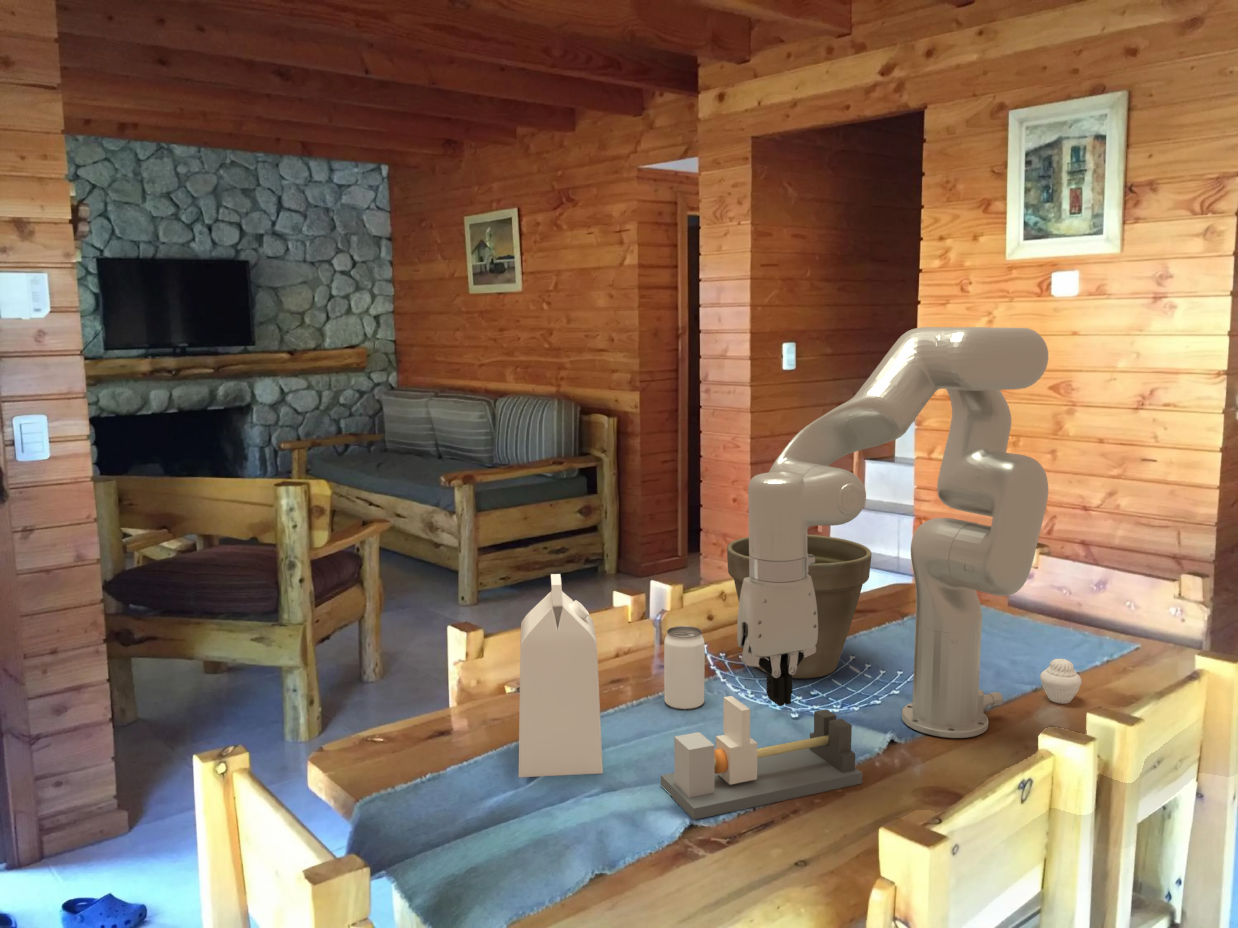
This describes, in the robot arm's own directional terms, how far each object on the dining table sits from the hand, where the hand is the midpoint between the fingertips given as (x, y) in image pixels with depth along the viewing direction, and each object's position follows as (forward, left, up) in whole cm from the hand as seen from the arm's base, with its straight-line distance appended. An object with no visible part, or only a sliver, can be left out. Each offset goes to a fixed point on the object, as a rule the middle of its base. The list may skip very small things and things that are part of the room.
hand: (779, 701), depth 134 cm
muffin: (-56, -7, -11) cm, 58 cm away
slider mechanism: (+3, 0, -11) cm, 12 cm away
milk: (+25, -19, -11) cm, 33 cm away
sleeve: (+7, 0, -9) cm, 11 cm away
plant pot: (-26, -38, -11) cm, 48 cm away
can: (0, -30, -11) cm, 32 cm away
